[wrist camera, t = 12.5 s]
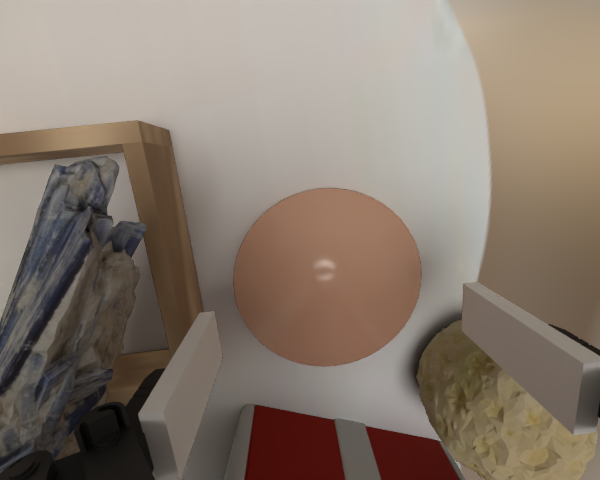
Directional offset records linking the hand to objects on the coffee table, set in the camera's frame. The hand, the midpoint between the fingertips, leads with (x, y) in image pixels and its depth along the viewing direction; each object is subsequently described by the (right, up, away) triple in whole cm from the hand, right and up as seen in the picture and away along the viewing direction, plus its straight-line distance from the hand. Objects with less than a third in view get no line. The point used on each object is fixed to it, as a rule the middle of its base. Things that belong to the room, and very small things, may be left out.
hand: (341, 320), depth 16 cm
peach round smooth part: (0, +1, +5) cm, 6 cm away
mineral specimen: (-11, +7, -6) cm, 15 cm away
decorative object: (+14, -5, +8) cm, 17 cm away
